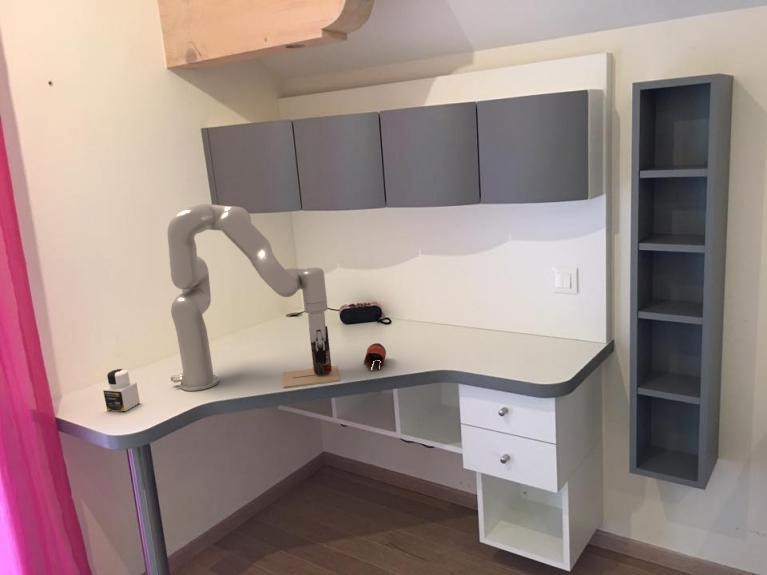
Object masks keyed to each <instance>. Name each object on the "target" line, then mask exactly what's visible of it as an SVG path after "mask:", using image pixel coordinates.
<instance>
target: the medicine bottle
mask: <svg viewBox="0 0 767 575" xmlns="http://www.w3.org/2000/svg"><path fill="white" fill-rule="evenodd" d="M106 377H107V382H108V386H107V387H105V388H103V390H102V391H103V396H104V401H105V406H106V407H105V408H106V411H108V410H112V411H111V412H118V411H126V410H127V411H129V410H131V409H132V408H131V407H133V406H134V407H136V406H137V404H138V403H139V404H140V403H141V402H140V401H141V400H140V394H139V389H138V384H137V382H134V381H133V382H132V381H130V376H129V371H128V369H125V368H118V369H114V370H110V371H109V372H108V373H107V375H106ZM139 404H138V405H139ZM135 405H136V406H135ZM134 407H133V408H134ZM130 408H131V409H130ZM128 409H129V410H128ZM127 411H126V412H127Z"/></svg>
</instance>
